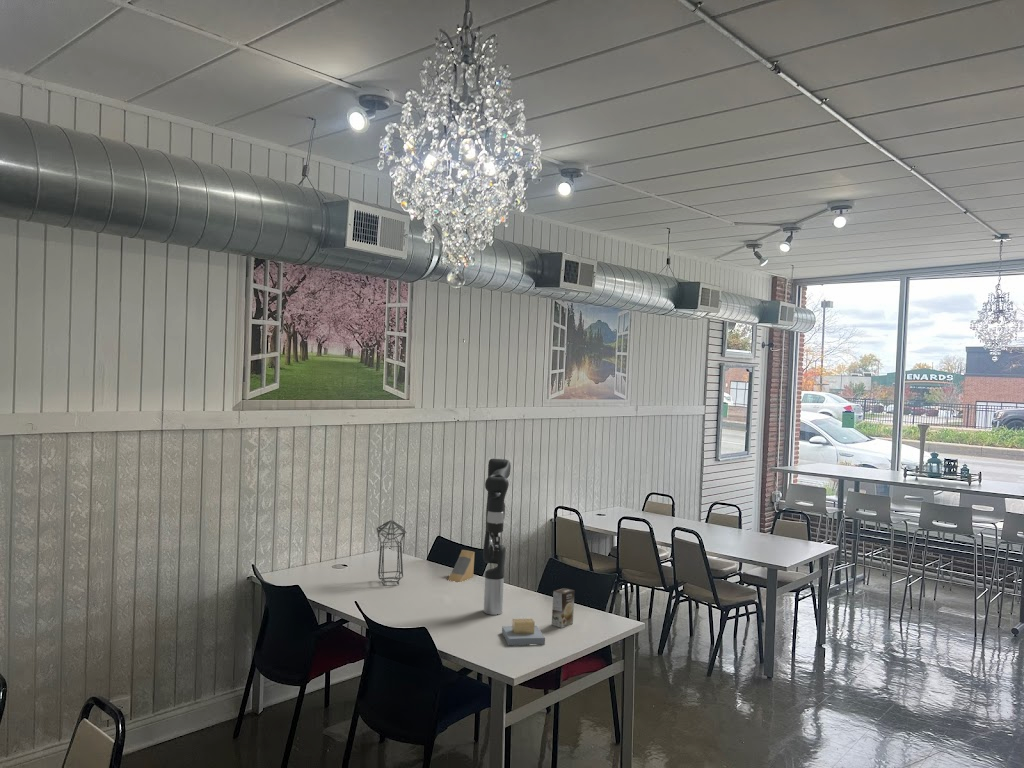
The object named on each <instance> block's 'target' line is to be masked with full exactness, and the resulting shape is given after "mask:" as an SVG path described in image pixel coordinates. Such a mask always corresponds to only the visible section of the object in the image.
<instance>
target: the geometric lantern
mask: <svg viewBox="0 0 1024 768" xmlns="http://www.w3.org/2000/svg"><path fill="white" fill-rule="evenodd" d="M375 529H376V534H377V537H378V539H379V540H378V541H379V545H380V546H379V556H378V557H379V558H378V570H377V575H378V579H379V580H380V581H381V582H382V581H383V582H382V583H384V584H383V586H386V583H395V582H396V583H397V584H399V585H400V580H401V579H403V578H404V569H403V567H404V566H403V565H404V564H403V550H402V549H403V547H402V546H403V540H404V538H405V536H406V534H407V531H406V530H405V527H404V526H403V525H401V524H399V523H397V522H395V520H393V519H391V520H388V521H386V522H384V523H383V524H381V525H379V526H378V527H376V528H375ZM395 529H396V530H395ZM386 530H387V531H386ZM391 530H392V532H390V531H391ZM398 531H400V532H398ZM397 532H398V533H397ZM380 535H381V536H382V537H384V540H383V541H382V539H381V536H380ZM385 535H386V536H385ZM390 536H393V538H390ZM400 536H401V538H400V541H399V540H398V537H400ZM386 539H387V541H386ZM390 540H394V542H395V543H396V546H395V545H394V546H390V545H389V548H397V560H396V561H397V563H396V564H397V565H396V570H393V571H391V570H390V571H385V562H384V561H385V559H384V558H385V547H386V545H387V543H389V542H390ZM387 573H395V576H389V577H387V576H386V577H385V576H384V575H385V574H387ZM392 580H397V581H392Z"/></svg>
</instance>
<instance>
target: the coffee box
mask: <svg viewBox="0 0 1024 768" xmlns="http://www.w3.org/2000/svg"><path fill="white" fill-rule="evenodd" d="M552 591H553V594H552V608H551V609H552V611H551V626H554V627H558V628H561V629H563V628H565V627H567V626H571V625H573V623H574V610H575V594H576V593H575V592H576V591H575V590H574V589H571V588H566V587H563V588H560V589H559V588H558V589H556V590H552Z"/></svg>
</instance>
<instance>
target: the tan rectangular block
mask: <svg viewBox="0 0 1024 768" xmlns="http://www.w3.org/2000/svg"><path fill="white" fill-rule="evenodd" d="M511 624H512V625H511V626H512V631H513V633H514V634H534V626H536V625H535V621H534V619H533V618H512V623H511Z"/></svg>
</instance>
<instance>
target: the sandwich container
mask: <svg viewBox="0 0 1024 768" xmlns="http://www.w3.org/2000/svg"><path fill="white" fill-rule="evenodd" d="M475 553H476V552H475V551H472V550H467V549H461V551H460V553H459V555H458V558H457V561H456V562H455V564H454V567H453V569H452V571H451V572H450V575H449V576H448V579H447V581H448V580H451V581H450V582H453V581H455V582H454V583H458V582H461V583H463V582H465V580H466V581H467V579H468V580H470V579H472V578H474V569H475V568H474V567H475ZM462 581H463V582H462Z"/></svg>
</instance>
